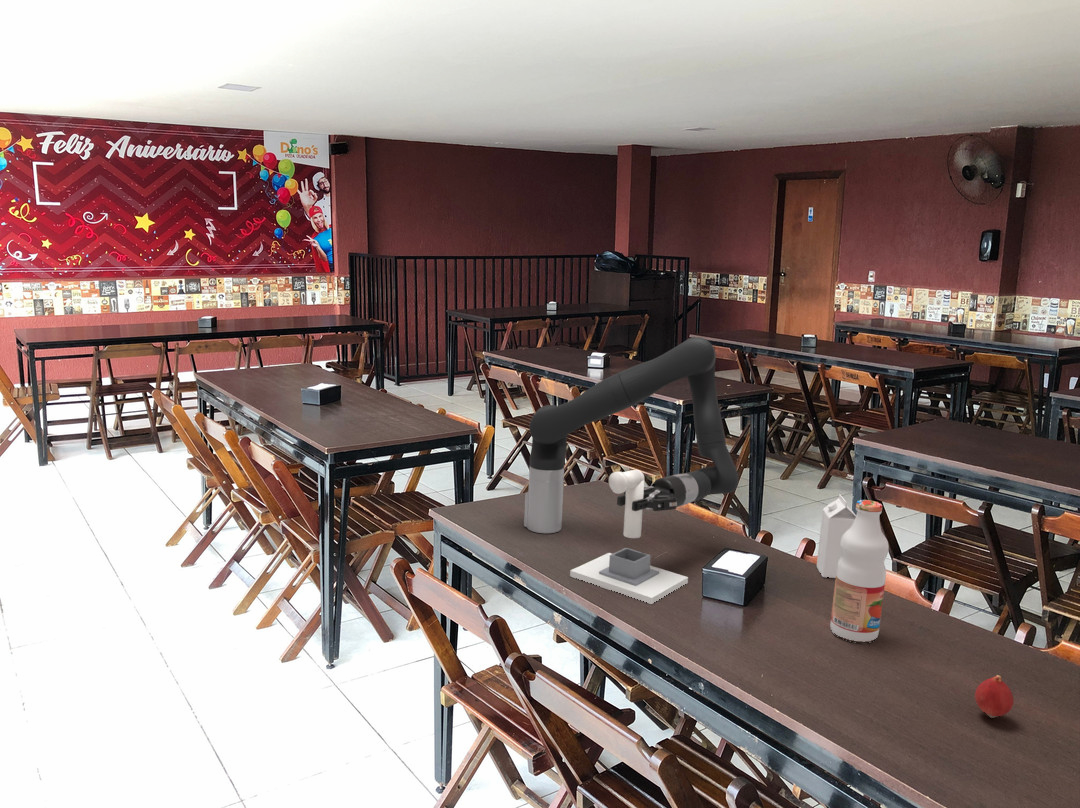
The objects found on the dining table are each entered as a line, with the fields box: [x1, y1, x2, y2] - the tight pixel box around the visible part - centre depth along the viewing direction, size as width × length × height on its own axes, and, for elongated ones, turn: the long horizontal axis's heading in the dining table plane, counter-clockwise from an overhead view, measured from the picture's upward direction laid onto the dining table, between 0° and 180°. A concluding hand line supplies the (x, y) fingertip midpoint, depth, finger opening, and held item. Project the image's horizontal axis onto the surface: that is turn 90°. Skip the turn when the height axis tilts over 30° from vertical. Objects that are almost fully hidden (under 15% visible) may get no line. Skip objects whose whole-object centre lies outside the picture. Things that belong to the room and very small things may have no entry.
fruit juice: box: [829, 499, 889, 642], centre depth 176 cm, size 9×9×28 cm
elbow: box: [608, 469, 645, 539], centre depth 197 cm, size 8×5×16 cm, turn 132°
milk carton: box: [816, 493, 857, 579], centre depth 209 cm, size 7×7×19 cm
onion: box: [974, 674, 1015, 717], centre depth 148 cm, size 6×6×8 cm
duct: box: [569, 547, 689, 605], centre depth 201 cm, size 22×16×6 cm
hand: (626, 503), depth 196 cm, fingers closed on elbow, 4 cm apart
